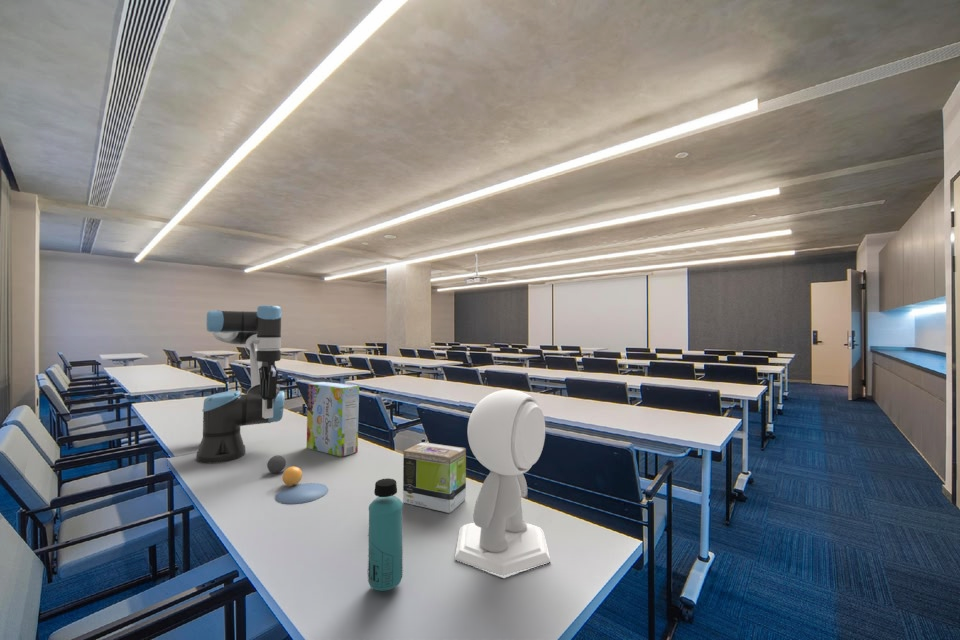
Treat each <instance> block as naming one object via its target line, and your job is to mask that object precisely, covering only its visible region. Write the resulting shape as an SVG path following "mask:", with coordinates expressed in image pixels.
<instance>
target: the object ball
mask: <svg viewBox="0 0 960 640" xmlns="http://www.w3.org/2000/svg"><path fill="white" fill-rule="evenodd" d="M302 478H303V471H302V469H301V468H300V467H298V466H289V467H287V468H286V469H285V470H284V471H283V473H282V478H281V479H282V482H283V484H284V485H286V486H287V487H290V486H293V485H297V484H300V481H301V480H302Z"/></svg>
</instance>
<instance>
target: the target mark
mask: <svg viewBox="0 0 960 640" xmlns="http://www.w3.org/2000/svg"><path fill="white" fill-rule="evenodd" d="M328 492H329V487H328V486H327V485H325V484H323V483H320V482H319V483H318V482H305V483H297V484H296V485H293V486H287V487H285V488H282V489H281V490H279V491H277V493H276V494H275V496H274V498H275V500H276V501H277V502H278V503H280V502H281V504H284V503H285V504H286V505H297V504H299V503H300V504H304V503H305V502H306V503H309V502H313V501H316V500H318V499H321V498H322V497H324V496H325V495H327V494H328ZM300 504H299V505H300Z"/></svg>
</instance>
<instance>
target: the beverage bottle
mask: <svg viewBox="0 0 960 640" xmlns="http://www.w3.org/2000/svg"><path fill="white" fill-rule="evenodd" d="M373 493H374V495H375V496H376V497H375V498H374V499H373V501H372V502H371V503H370V504H369V505H368V529H367V532H368V533H367V534H368V535H367V536H368V555H367V558H368V560H367V579H368V580H367V581H368V585H369V586H370V588H372V590H375V591H381V592H383V591H389V590H392V589H394V588H396V587H398V586H399V585H400V583H401V582H402V578H403V576H404V575H403V569H404V566H403V558H404V556H403V546H404V545H403V506H404V504H403V502H402V501H403V500H401V499H400V498H398V497H397V496H395V495H397V493H398V487H397V481H396V479H393V478H381V479H379V480H376V482H375V484H374V492H373Z"/></svg>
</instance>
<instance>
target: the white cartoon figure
mask: <svg viewBox="0 0 960 640" xmlns="http://www.w3.org/2000/svg"><path fill="white" fill-rule="evenodd" d="M466 429H467V433H466V434H467V440H468V444H469V447H470V450H471V452H472V454H473V456H474V457H475V458H476V460H477V461H478V462H479V463H480V464H481V465H482V466H483V467H484V468H486V469H488V470H489V473H488V475H487V476H486V478H485V479H484V481H483V482H482V486H481V488H480V490H479V493H478V496H477V498H476V500H475V505H474V507H473V508H474V509H473V513H472V514H473V515H472V516H473V522H470V523H467V524H463V525H462V526H461V527H460V528H459V531H458V537H457V543H456V550H455V554H454V555H455V556H454V560H455V561H456V560H457V562H459V561H460V562H459V563H461V562H463V563H462V564H464V563H465V564H464V565H466V564H468V565H467V566H469V565H472V566H474V567H478V568H480V569H484V570H487V571H489V572H493V573H496V574H499V575H503V576H504V575H507V574H510V573H513V572H517V571H520V570H524V569H528V568H531V567H535V566H538V565H541V564H544V563H548V562H550V563H551V557H550V553H549V552H550V551H549V549H548V548H549V547H548V545H547V540H546V536H545V532H544V530H543V529H542V528H541V527H540V526H537V525H534V524H531V523H528V522H525V520H523V519H524V518H523V508H522V497H527V494H528V485H527V480H526V478H525V475H524V474H526V473H527V472H529V470H530V469H531V468H532V466H533V465H535V464H536V463H537V462H538V461H539V459H540V457H541V454H542V451H543V448H544V446H545V441H546V440H545V439H546V419H545V415H544V413H543V411H542V409H541V407H540V406H539V403H538V402H537V400H536V399H535V398H534V397H533V396H532V395H530V394H528V393H526V392H523V391H520V390H516V389H500V390H496V391H494V392H492V393H491V392H490V393H489V394H487V395H486V396H484V397H483V398H482V399H481V400H479V402H477V404H476V405H475V406H474V408H473V410H472V411H471V413H470V416H469V419H468V423H467V428H466ZM474 567H473V568H474Z"/></svg>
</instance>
